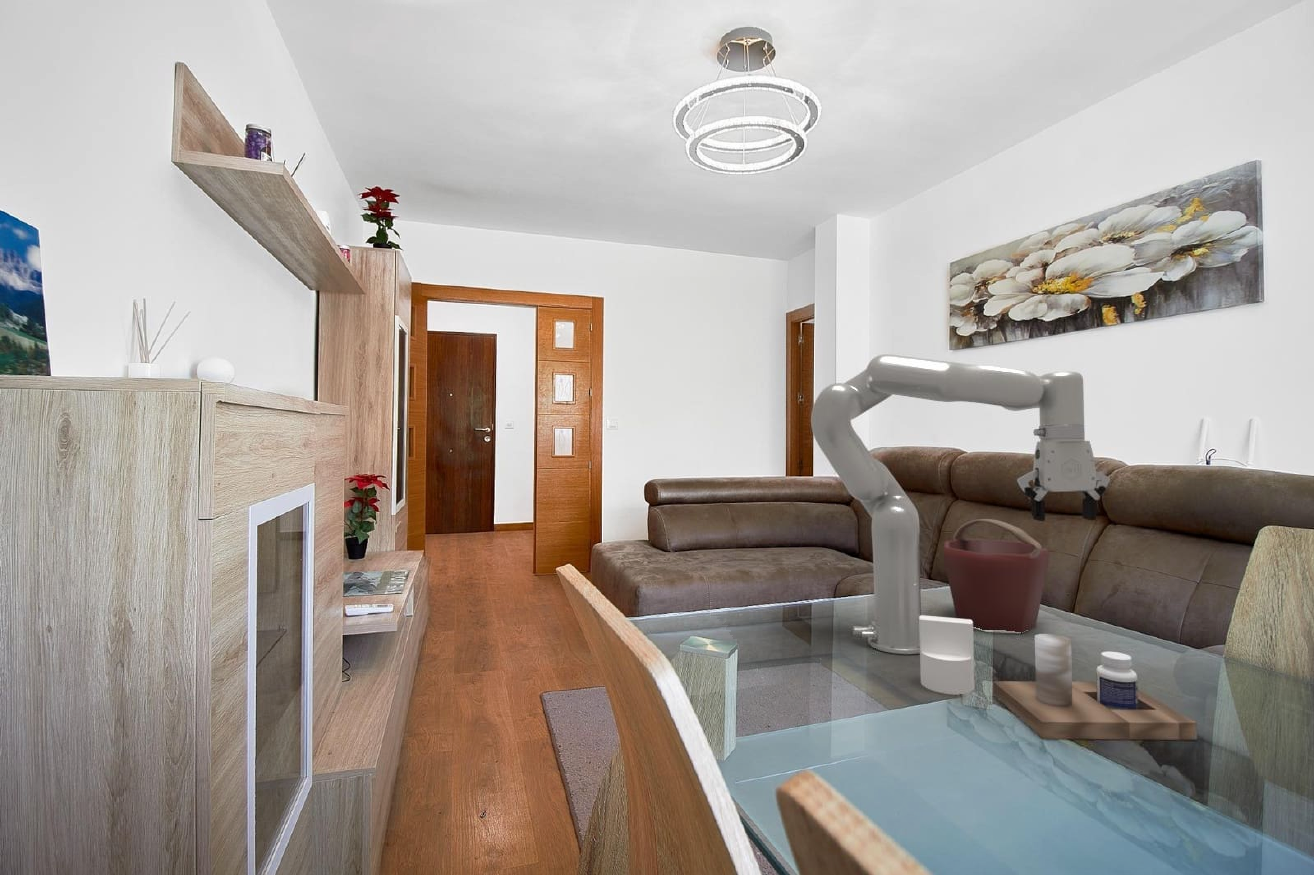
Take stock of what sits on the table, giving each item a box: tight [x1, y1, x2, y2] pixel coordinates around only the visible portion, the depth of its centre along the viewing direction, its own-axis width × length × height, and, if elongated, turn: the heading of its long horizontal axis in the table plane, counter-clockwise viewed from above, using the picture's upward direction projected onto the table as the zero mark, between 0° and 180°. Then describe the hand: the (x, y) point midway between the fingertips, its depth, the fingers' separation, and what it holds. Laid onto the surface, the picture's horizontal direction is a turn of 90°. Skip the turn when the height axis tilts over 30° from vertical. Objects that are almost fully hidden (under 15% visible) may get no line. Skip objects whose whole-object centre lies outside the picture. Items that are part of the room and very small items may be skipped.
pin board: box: [992, 633, 1198, 741], centre depth 103 cm, size 22×16×12 cm
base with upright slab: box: [919, 614, 975, 696], centre depth 117 cm, size 9×9×12 cm
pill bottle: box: [1095, 651, 1139, 710], centre depth 103 cm, size 5×5×10 cm
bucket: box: [943, 518, 1050, 633], centre depth 153 cm, size 24×22×25 cm
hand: (1064, 519), depth 127 cm, fingers open, 9 cm apart
